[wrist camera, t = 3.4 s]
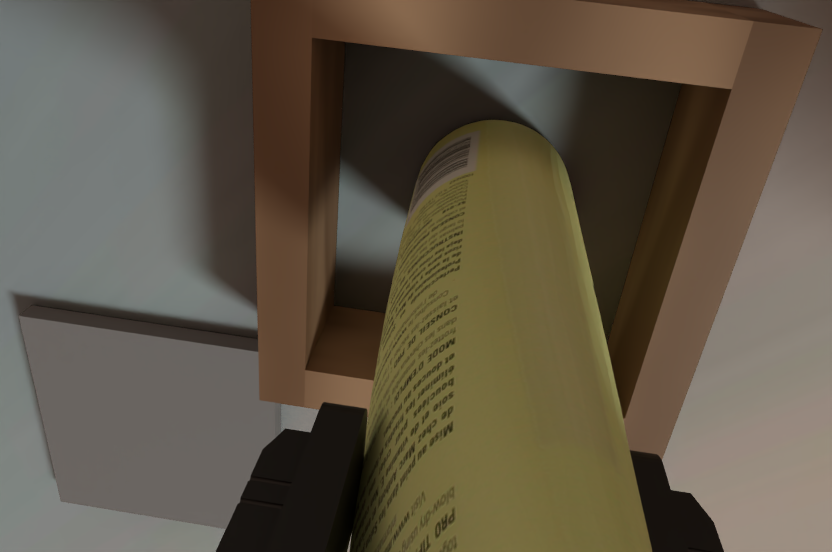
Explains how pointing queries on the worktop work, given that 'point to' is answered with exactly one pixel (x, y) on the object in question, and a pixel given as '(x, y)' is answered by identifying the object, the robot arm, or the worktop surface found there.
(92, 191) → the worktop surface
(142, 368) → the pad
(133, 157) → the worktop surface
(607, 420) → the tube
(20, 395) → the worktop surface
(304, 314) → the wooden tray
